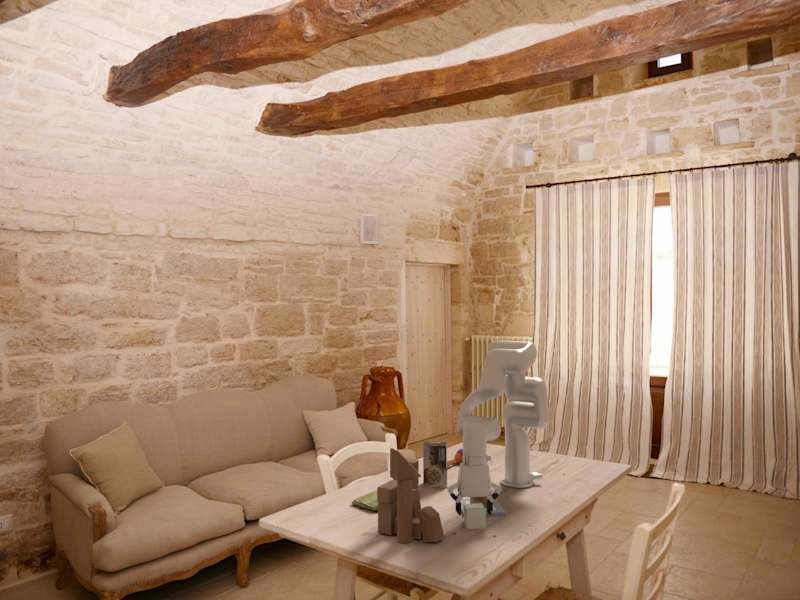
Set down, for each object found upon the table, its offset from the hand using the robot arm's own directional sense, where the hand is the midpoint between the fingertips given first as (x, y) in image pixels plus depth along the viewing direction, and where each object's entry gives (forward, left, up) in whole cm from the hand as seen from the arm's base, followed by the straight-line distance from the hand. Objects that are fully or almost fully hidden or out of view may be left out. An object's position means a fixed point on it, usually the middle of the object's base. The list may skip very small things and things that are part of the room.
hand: (474, 513), depth 202 cm
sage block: (0, 0, -4) cm, 4 cm away
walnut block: (-5, -15, -3) cm, 16 cm away
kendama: (-5, -69, -4) cm, 69 cm away
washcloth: (+29, -24, -4) cm, 37 cm away
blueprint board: (-5, -15, -4) cm, 17 cm away
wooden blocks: (+19, +5, -4) cm, 20 cm away
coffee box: (+7, -42, -4) cm, 43 cm away
